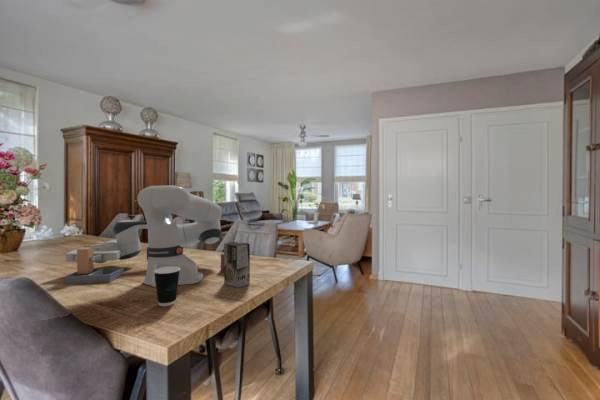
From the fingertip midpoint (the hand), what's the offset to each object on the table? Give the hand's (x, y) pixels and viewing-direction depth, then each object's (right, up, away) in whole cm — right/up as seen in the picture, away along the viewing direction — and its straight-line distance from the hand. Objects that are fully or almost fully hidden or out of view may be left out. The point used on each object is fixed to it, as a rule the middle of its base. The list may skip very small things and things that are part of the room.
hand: (84, 259), depth 119 cm
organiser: (+4, -8, +1) cm, 9 cm away
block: (0, -6, +1) cm, 6 cm away
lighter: (+56, -9, +15) cm, 58 cm away
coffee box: (+64, -9, -5) cm, 65 cm away
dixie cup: (+46, -9, -26) cm, 53 cm away
